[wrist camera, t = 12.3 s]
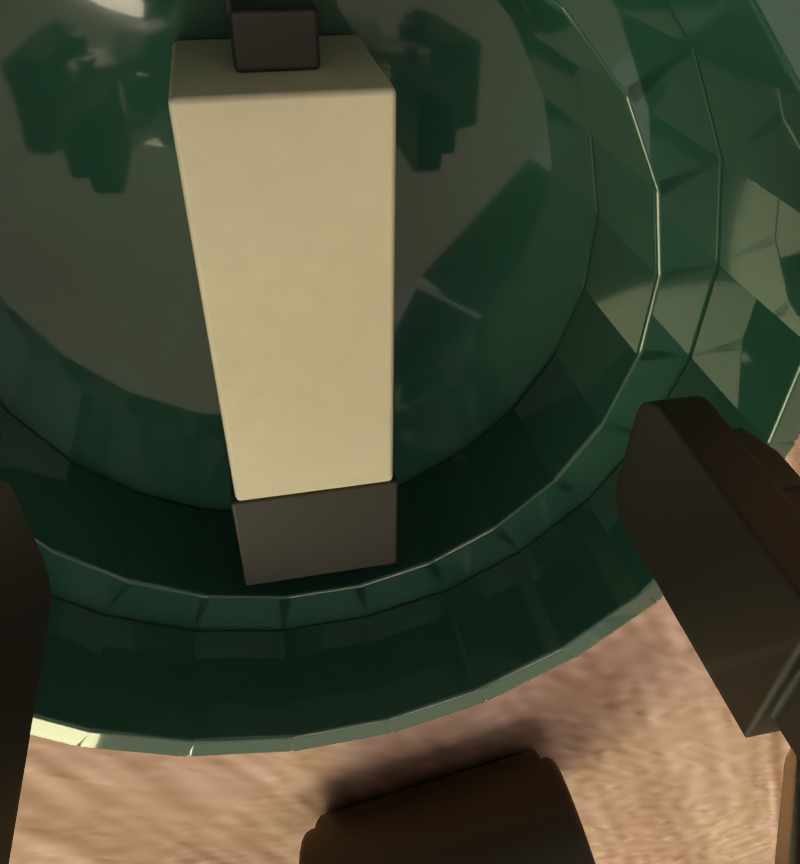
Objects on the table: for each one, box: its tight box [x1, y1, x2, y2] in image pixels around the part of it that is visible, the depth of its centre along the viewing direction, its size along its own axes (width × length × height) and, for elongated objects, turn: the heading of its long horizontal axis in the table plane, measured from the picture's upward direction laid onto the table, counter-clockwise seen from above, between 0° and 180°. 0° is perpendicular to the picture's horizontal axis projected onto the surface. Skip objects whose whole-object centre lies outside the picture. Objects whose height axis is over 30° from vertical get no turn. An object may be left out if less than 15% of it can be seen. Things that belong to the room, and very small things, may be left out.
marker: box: [168, 0, 398, 585], centre depth 14 cm, size 10×3×3 cm, turn 179°
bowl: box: [0, 0, 800, 757], centre depth 13 cm, size 16×16×6 cm
